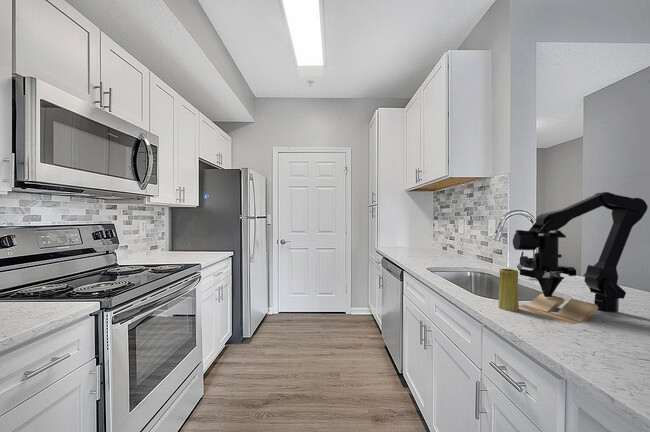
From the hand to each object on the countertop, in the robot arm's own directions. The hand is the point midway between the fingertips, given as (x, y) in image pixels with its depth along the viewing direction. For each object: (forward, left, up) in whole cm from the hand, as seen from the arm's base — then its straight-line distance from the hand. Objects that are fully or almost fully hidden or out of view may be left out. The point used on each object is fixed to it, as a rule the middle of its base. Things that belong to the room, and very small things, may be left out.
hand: (547, 296), depth 112 cm
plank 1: (+1, +1, -3) cm, 3 cm away
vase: (+14, -2, -5) cm, 16 cm away
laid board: (+8, +6, -5) cm, 11 cm away
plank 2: (+1, +11, -2) cm, 11 cm away
